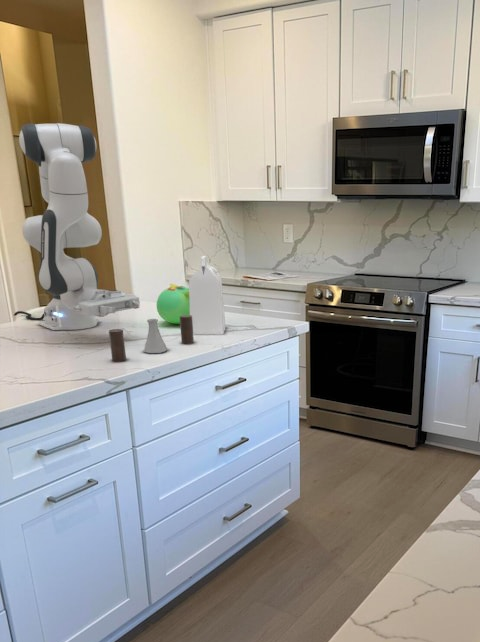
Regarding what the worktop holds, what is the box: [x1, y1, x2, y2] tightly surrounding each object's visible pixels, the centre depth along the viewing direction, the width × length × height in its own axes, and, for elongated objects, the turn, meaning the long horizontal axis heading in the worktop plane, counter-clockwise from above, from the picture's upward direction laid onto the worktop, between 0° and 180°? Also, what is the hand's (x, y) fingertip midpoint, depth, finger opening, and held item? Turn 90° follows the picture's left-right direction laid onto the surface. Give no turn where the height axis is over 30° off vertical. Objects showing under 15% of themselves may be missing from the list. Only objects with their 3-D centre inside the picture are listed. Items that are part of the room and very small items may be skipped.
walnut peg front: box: [108, 328, 127, 363], centre depth 180 cm, size 4×4×9 cm
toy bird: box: [156, 283, 190, 325], centre depth 230 cm, size 18×17×15 cm
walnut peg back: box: [179, 315, 195, 345], centre depth 202 cm, size 4×4×9 cm
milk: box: [188, 255, 226, 335], centre depth 216 cm, size 12×12×26 cm
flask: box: [143, 318, 168, 354], centre depth 190 cm, size 7×7×10 cm
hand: (125, 308), depth 194 cm, fingers open, 8 cm apart
